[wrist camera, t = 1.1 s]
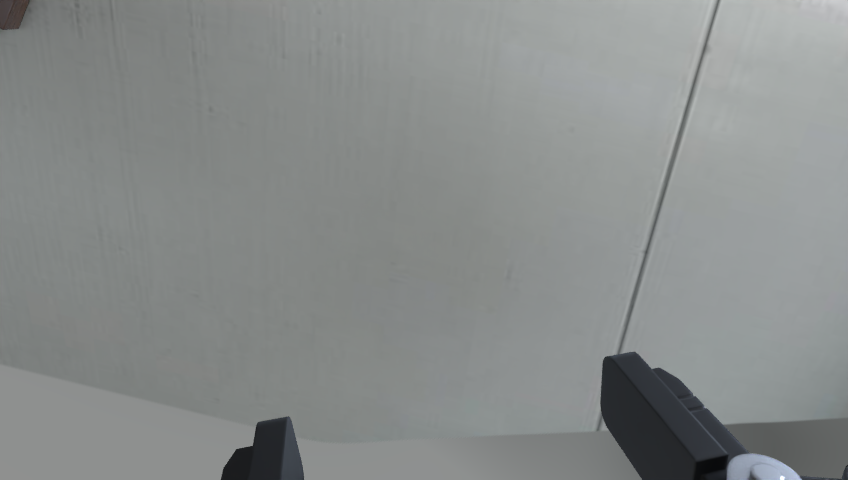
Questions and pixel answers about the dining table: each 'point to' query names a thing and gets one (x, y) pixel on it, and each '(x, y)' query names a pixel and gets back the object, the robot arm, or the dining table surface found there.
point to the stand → (12, 13)
